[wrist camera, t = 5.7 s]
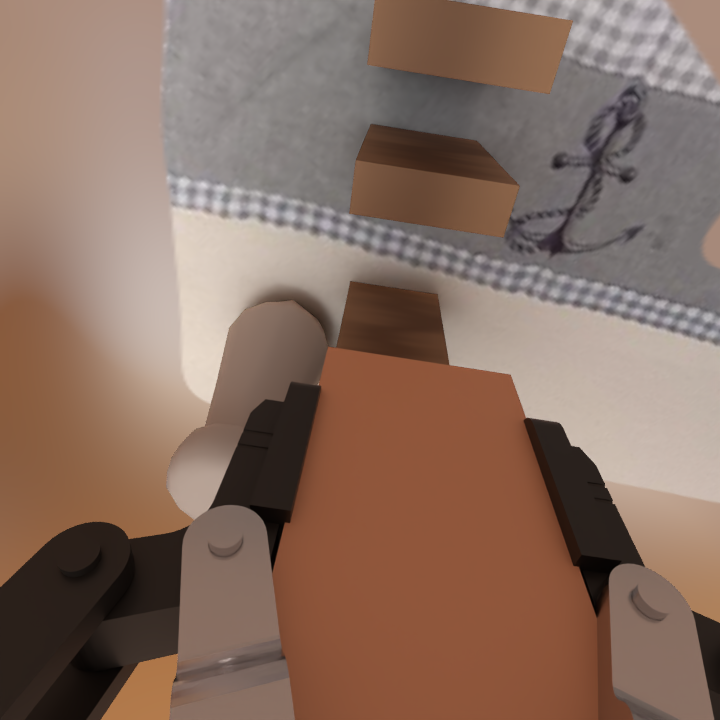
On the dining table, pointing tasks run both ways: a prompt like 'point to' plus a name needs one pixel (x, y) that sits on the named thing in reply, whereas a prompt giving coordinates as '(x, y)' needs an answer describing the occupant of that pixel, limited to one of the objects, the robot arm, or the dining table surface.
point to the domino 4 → (428, 556)
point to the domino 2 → (431, 182)
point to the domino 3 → (393, 323)
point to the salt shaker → (245, 393)
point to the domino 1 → (468, 42)
